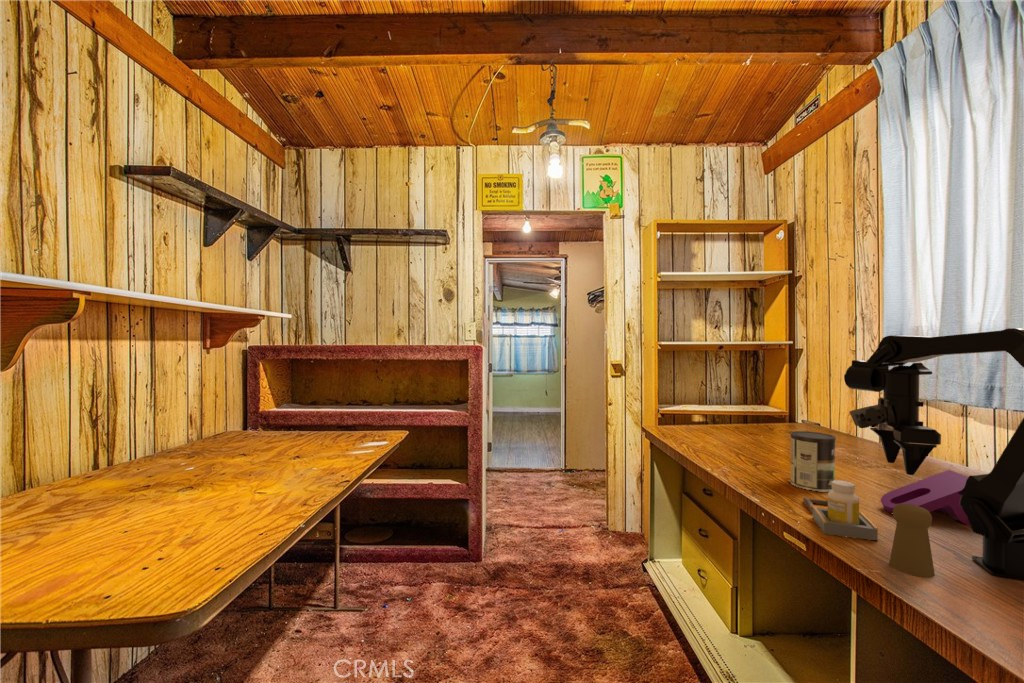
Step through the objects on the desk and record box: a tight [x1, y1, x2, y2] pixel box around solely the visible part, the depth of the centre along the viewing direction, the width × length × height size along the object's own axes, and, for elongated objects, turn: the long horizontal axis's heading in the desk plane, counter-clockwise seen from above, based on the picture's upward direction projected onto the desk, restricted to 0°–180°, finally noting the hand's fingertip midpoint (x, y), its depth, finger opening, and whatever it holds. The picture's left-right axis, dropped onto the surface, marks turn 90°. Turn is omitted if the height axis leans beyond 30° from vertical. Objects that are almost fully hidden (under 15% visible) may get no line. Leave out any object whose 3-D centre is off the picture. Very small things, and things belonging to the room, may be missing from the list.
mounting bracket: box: [880, 469, 971, 526], centre depth 103 cm, size 10×8×18 cm
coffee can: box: [790, 430, 836, 493], centre depth 123 cm, size 10×10×14 cm
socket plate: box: [812, 505, 879, 542], centre depth 95 cm, size 9×9×3 cm
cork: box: [888, 504, 936, 578], centre depth 79 cm, size 6×6×11 cm
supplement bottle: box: [827, 479, 860, 525], centre depth 95 cm, size 5×5×10 cm
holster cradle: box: [802, 496, 828, 514], centre depth 106 cm, size 8×8×2 cm
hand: (899, 468), depth 95 cm, fingers open, 9 cm apart
